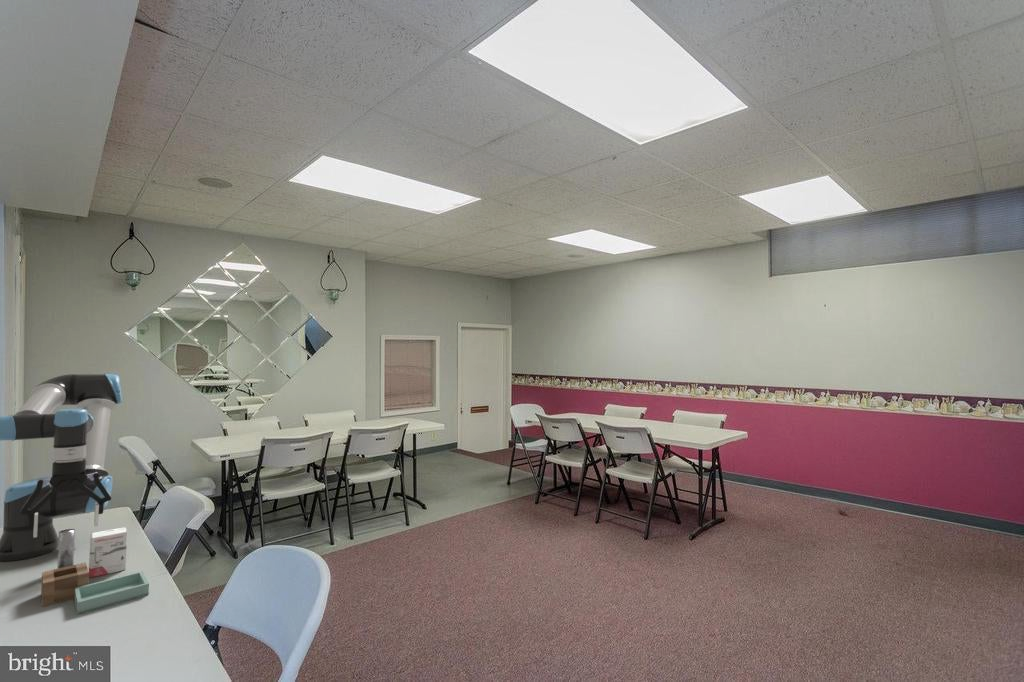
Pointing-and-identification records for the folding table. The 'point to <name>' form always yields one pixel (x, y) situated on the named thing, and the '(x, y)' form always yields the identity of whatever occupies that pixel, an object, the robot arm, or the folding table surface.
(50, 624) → the folding table surface
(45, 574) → the wooden square holder
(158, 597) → the folding table surface
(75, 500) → the robot arm
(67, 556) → the cylinder
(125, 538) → the ink box
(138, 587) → the tray
